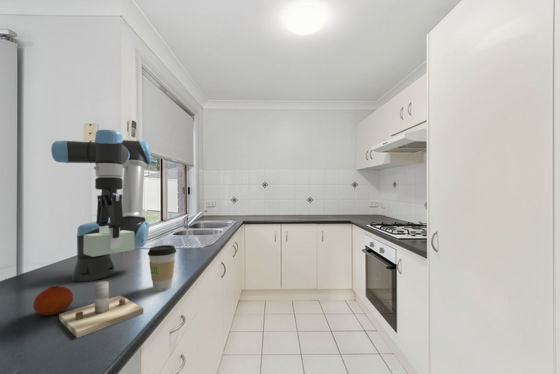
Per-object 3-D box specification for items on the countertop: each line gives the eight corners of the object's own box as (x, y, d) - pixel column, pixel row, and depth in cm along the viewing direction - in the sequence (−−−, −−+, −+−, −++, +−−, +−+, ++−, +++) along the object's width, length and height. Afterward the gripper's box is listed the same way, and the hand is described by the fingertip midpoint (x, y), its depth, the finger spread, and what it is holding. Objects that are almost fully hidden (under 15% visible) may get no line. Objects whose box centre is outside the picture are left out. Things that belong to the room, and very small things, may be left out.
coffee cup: (154, 283, 102) (153, 245, 102) (180, 282, 103) (179, 244, 103) (143, 293, 92) (142, 251, 92) (171, 292, 93) (171, 250, 93)
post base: (59, 319, 74) (58, 285, 74) (120, 300, 87) (120, 271, 87) (77, 338, 65) (76, 299, 65) (143, 313, 77) (143, 281, 77)
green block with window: (92, 256, 78) (92, 236, 78) (83, 253, 83) (83, 234, 83) (134, 249, 88) (134, 231, 88) (124, 247, 93) (124, 230, 93)
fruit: (80, 307, 82) (80, 281, 82) (49, 321, 73) (49, 292, 73) (58, 304, 84) (58, 279, 84) (26, 318, 75) (26, 290, 75)
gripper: (84, 179, 90) (84, 245, 89) (108, 174, 77) (108, 252, 76) (109, 179, 95) (109, 242, 95) (135, 175, 83) (135, 248, 82)
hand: (109, 246), depth 85 cm, fingers closed on green block with window, 8 cm apart
